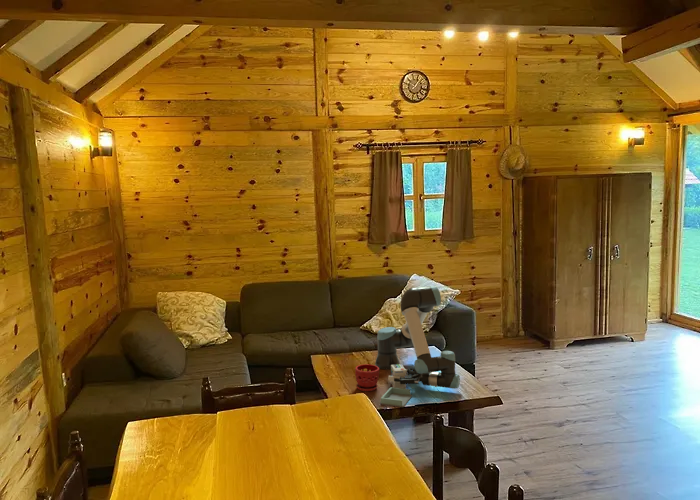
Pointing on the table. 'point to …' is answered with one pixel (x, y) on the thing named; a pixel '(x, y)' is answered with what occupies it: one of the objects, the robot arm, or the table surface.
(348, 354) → the table surface
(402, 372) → the light bulb box
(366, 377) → the plant pot
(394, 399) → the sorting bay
